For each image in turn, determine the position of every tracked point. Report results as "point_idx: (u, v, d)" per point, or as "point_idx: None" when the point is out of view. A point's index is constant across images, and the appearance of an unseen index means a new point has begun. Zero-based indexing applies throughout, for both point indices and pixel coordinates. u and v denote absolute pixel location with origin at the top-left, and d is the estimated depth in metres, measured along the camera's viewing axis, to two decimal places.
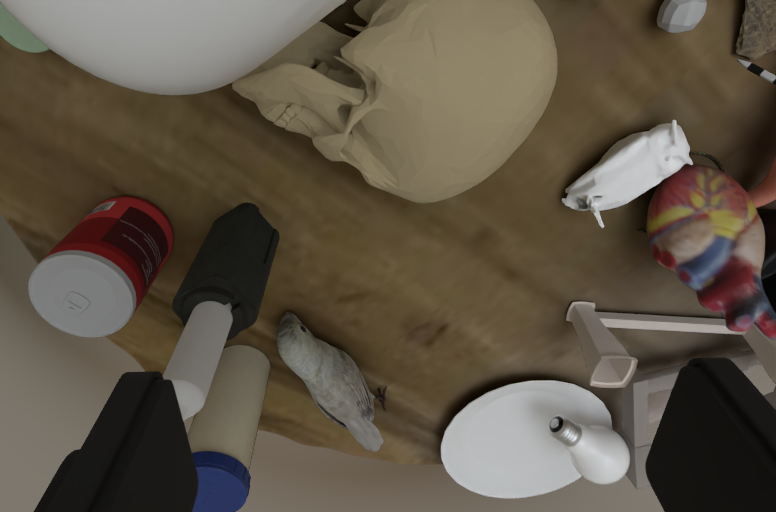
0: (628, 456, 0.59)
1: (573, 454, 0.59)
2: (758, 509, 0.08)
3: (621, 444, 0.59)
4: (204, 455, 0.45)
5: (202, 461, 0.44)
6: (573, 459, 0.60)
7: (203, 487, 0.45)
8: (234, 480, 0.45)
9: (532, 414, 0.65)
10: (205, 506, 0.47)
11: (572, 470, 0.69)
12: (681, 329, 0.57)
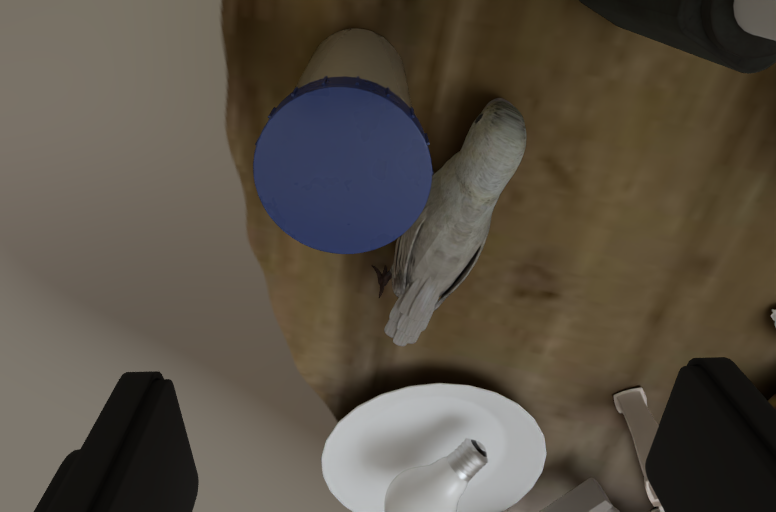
0: (389, 500, 0.46)
1: None
2: (758, 509, 0.08)
3: (402, 496, 0.45)
4: (421, 126, 0.21)
5: (421, 130, 0.20)
6: None
7: (359, 165, 0.20)
8: (411, 212, 0.21)
9: None
10: (299, 191, 0.21)
11: None
12: None
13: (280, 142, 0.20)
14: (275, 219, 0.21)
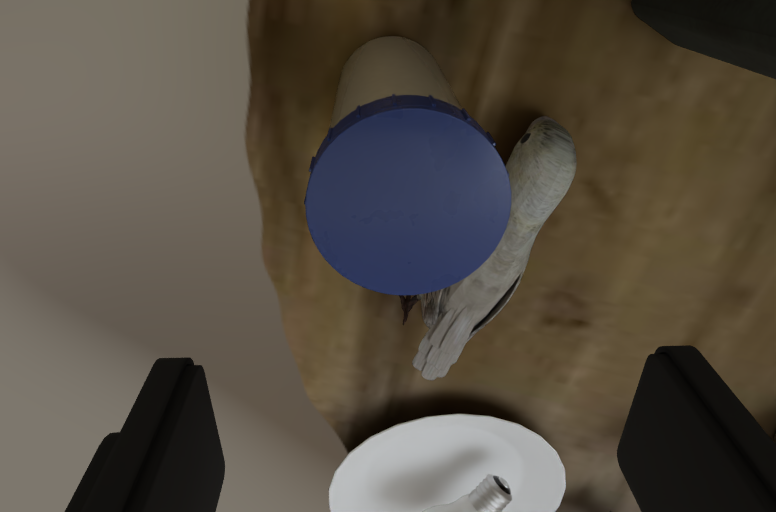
0: None
1: None
2: (715, 489, 0.08)
3: None
4: None
5: None
6: None
7: (429, 197, 0.17)
8: (482, 251, 0.19)
9: (479, 472, 0.48)
10: (356, 225, 0.18)
11: None
12: None
13: (339, 169, 0.17)
14: (326, 255, 0.18)
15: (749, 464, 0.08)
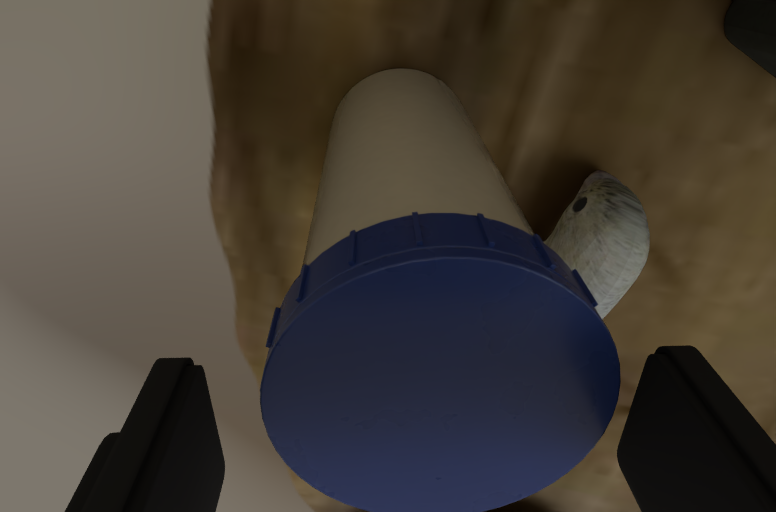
0: None
1: None
2: (715, 490, 0.08)
3: None
4: None
5: None
6: None
7: (476, 391, 0.10)
8: (561, 462, 0.11)
9: None
10: (350, 430, 0.10)
11: None
12: None
13: (318, 353, 0.09)
14: (298, 471, 0.11)
15: (748, 464, 0.08)
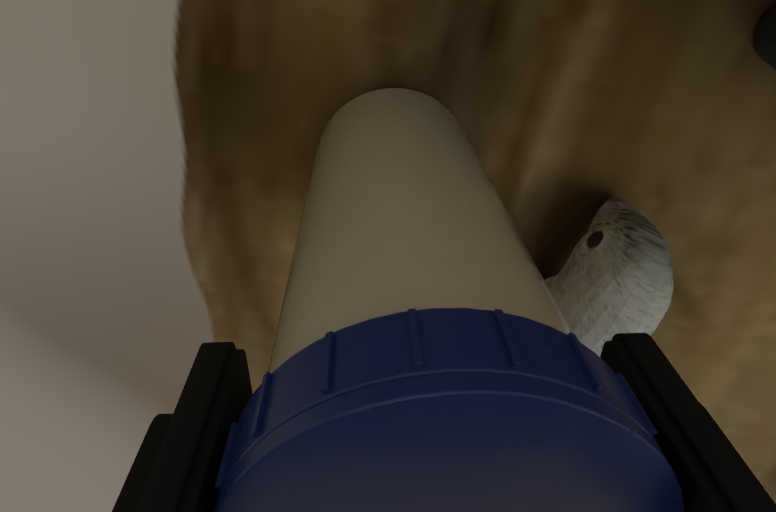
0: None
1: None
2: None
3: None
4: None
5: None
6: None
7: None
8: None
9: None
10: None
11: None
12: None
13: (283, 505, 0.07)
14: None
15: (690, 443, 0.08)
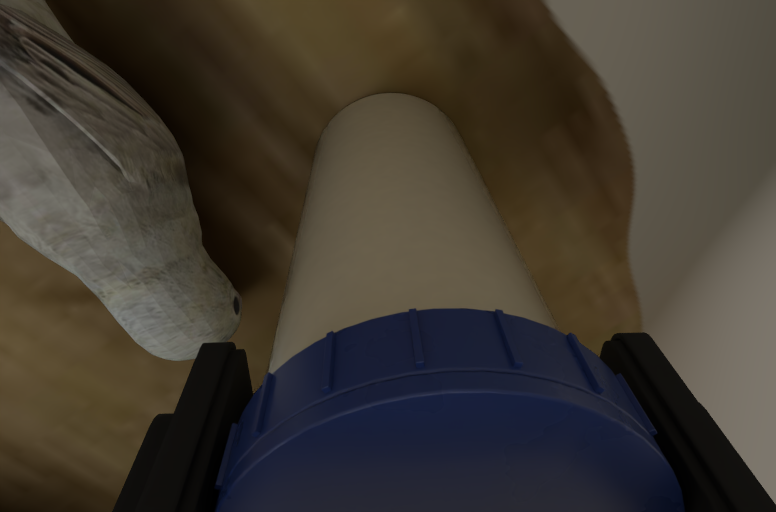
0: None
1: None
2: None
3: None
4: None
5: None
6: None
7: None
8: None
9: None
10: None
11: None
12: None
13: (283, 505, 0.07)
14: None
15: (689, 443, 0.08)
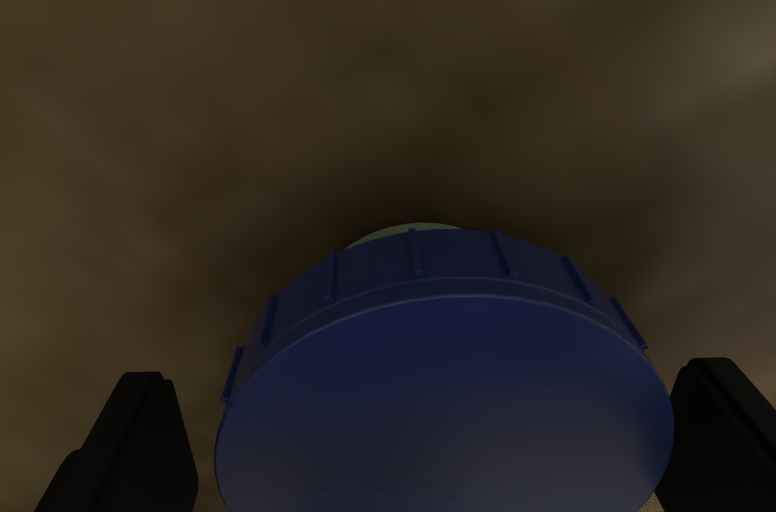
0: None
1: None
2: (758, 509, 0.08)
3: None
4: None
5: None
6: None
7: (491, 456, 0.08)
8: None
9: None
10: (331, 502, 0.08)
11: None
12: None
13: (287, 413, 0.07)
14: None
15: None
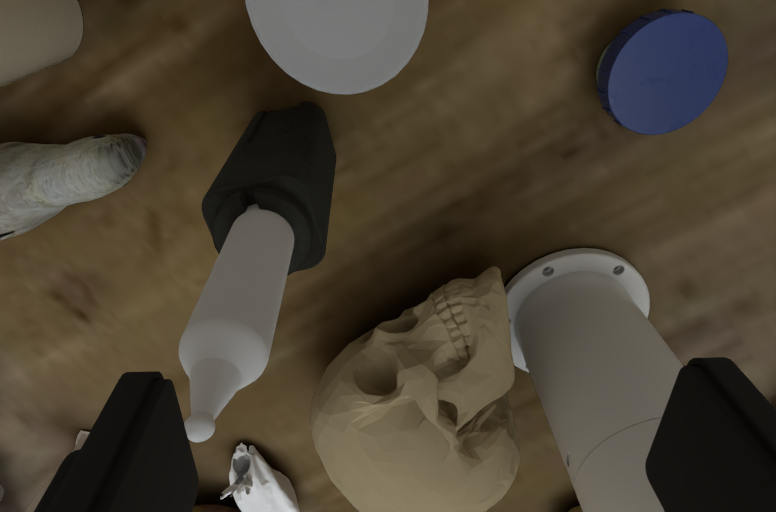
0: None
1: None
2: (758, 509, 0.08)
3: None
4: None
5: None
6: None
7: (680, 68, 0.31)
8: (702, 104, 0.32)
9: None
10: (635, 86, 0.31)
11: None
12: None
13: (635, 50, 0.30)
14: (613, 106, 0.31)
15: None
